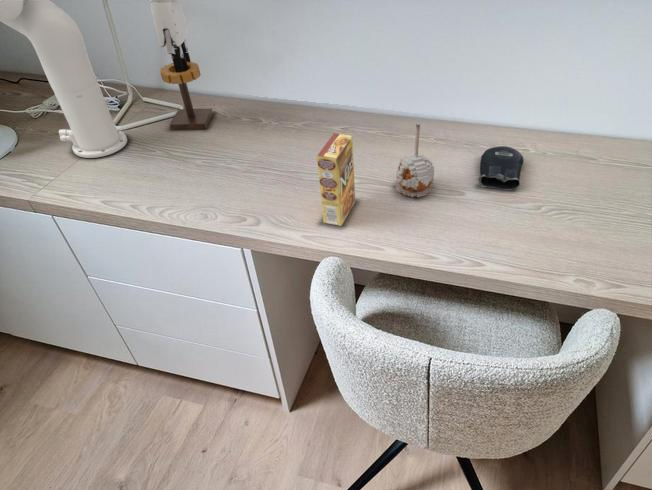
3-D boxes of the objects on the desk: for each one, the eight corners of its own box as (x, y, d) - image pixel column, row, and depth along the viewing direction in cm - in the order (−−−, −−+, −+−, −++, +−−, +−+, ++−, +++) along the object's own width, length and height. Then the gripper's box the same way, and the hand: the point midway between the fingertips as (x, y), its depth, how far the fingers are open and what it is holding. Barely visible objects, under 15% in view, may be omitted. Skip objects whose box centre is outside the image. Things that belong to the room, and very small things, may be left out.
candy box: (342, 227, 97) (338, 158, 87) (322, 223, 98) (315, 155, 88) (356, 202, 103) (353, 135, 93) (337, 198, 104) (332, 132, 94)
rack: (171, 129, 128) (157, 86, 120) (180, 114, 134) (168, 71, 127) (205, 129, 128) (194, 85, 120) (213, 113, 134) (202, 71, 126)
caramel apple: (390, 183, 108) (391, 119, 98) (421, 175, 110) (426, 112, 100) (405, 202, 103) (408, 136, 92) (438, 193, 105) (445, 128, 94)
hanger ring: (157, 84, 120) (154, 76, 119) (167, 69, 127) (165, 61, 125) (196, 83, 120) (193, 75, 118) (204, 68, 127) (202, 60, 125)
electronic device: (521, 197, 106) (523, 154, 115) (522, 177, 102) (525, 133, 111) (476, 196, 108) (482, 154, 117) (476, 176, 104) (482, 134, 113)
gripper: (156, -18, 119) (178, 59, 131) (135, 1, 107) (161, 84, 120) (187, -19, 119) (206, 59, 131) (169, 0, 107) (191, 83, 120)
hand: (184, 70), depth 126 cm, fingers closed on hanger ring, 2 cm apart
